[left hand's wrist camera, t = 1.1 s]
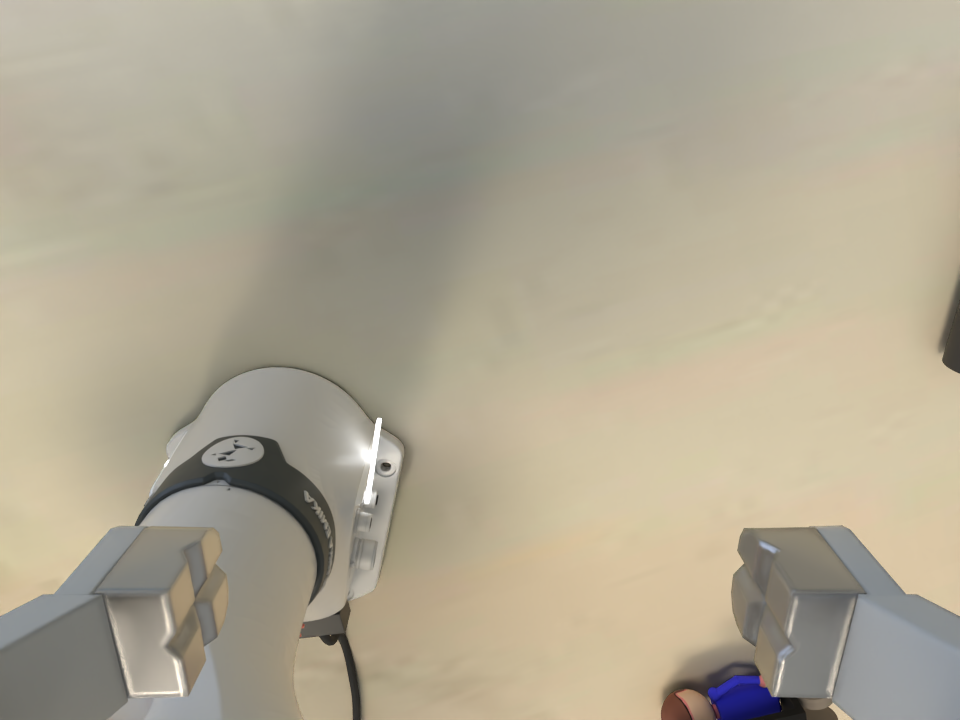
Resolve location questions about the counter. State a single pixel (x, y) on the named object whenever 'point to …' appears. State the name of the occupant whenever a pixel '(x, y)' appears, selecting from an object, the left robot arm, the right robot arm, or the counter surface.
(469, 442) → the counter surface
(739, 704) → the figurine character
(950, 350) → the rod
